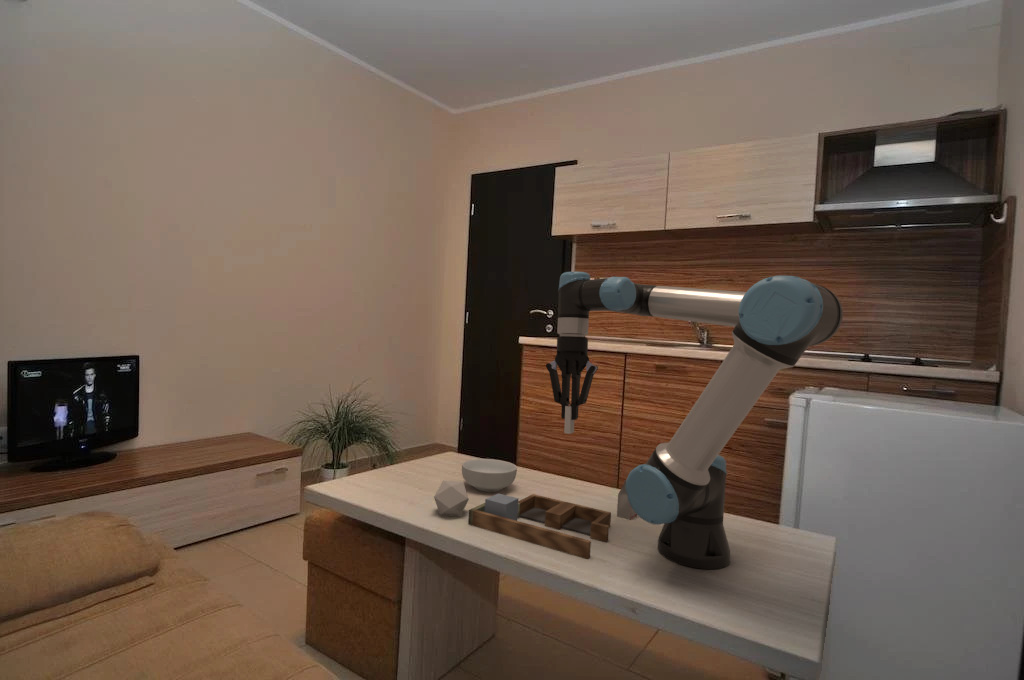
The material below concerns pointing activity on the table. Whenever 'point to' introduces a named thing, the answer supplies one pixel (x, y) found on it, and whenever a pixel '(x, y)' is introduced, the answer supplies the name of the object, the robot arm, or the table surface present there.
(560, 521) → the wooden compartment tray
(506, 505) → the slate block
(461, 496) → the die
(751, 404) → the robot arm
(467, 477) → the cereal bowl
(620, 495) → the gable top carton
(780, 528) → the table surface
